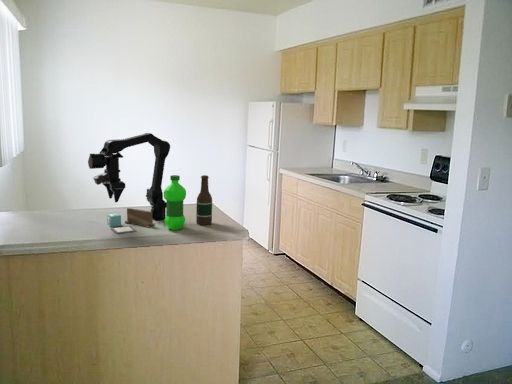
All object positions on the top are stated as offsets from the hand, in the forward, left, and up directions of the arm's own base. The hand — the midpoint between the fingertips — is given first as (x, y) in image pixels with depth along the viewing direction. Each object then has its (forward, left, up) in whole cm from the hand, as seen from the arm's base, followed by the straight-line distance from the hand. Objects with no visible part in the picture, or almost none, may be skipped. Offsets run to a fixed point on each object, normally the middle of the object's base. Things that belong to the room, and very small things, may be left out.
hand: (113, 200), depth 209 cm
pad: (-1, +11, -12) cm, 16 cm away
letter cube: (0, 0, -12) cm, 12 cm away
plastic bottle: (-23, +18, -12) cm, 32 cm away
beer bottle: (-39, +17, -12) cm, 44 cm away
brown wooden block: (-11, +4, -12) cm, 17 cm away
